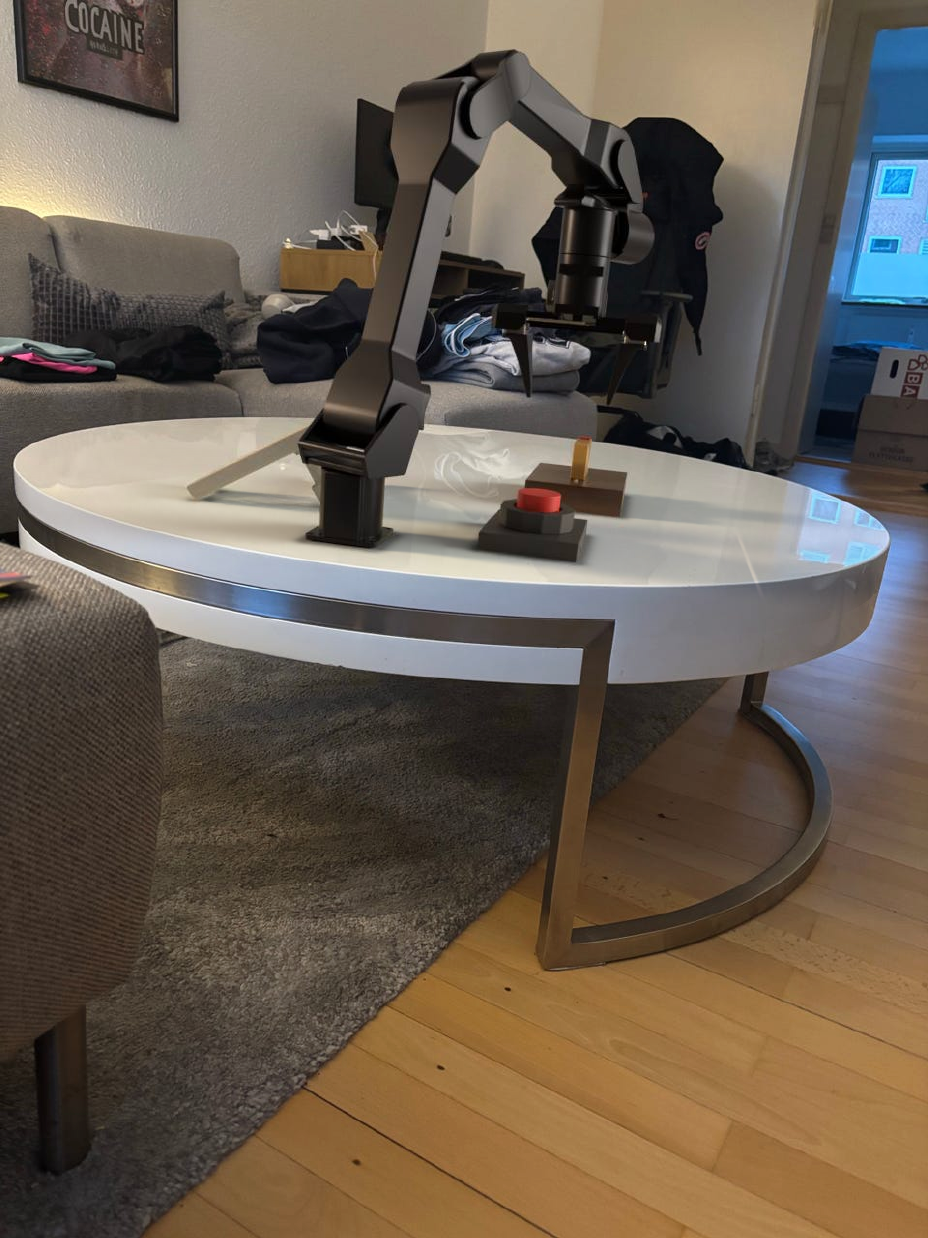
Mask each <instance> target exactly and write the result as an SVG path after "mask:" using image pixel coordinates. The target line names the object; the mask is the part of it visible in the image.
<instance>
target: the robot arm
mask: <svg viewBox="0 0 928 1238" xmlns="http://www.w3.org/2000/svg"><path fill="white" fill-rule="evenodd" d="M507 122H508V123H509V124H510V125H512V126H513V127H515V128H516V129H517V130H518V131H519V132H521V133H522V134H523V135H525V136H526V137H527V138H528V139H530V141H532V142H533V143H534V144H536V145H537V146H538V147H539V148H541V149H542V150H543V151H544V152H546V153H547V154H548V156H549V157H550V160H551V161H550V166H551V167H550V169H551V171H552V172H553V173H554V175H555V176H556V177H557V179H558V180H559V181H560V182H561V184H562V185H564V187H565V188H564V190H563V191H562V192H560V193H559V194H558V195H557V196H556V197H555V198H554V199H553V205H554V206H555V207H557V208H558V207H559V208H563V209H562V219H561V228H560V236H559V247H558V248H559V249H558V256H557V268H556V276H555V280H553V279H549V280H548V284H547V285H548V286H547V289H546V296H545V308H546V311H535V310H534V305H529V304H519V303H518V304H517V303H508V302H506V303H505V302H498V303H496V305H494V306H493V307H492V312H491V322H490V329H494V330H495V329H497V330H503V332H502V333H501V338H503V339H509V341H510V343H511V346H512V348H513V352H514V354H515V357H516V359H517V362H518V366H519V370H520V374H521V379H522V383H523V387H524V392H525V396H526V398H528V399H529V398H531V397H532V393H533V383H534V382H533V379H534V378H533V345H534V344H533V343H534V334H533V333H530V331H531V330H532V328H539V329H552V330H560V331H561V330H562V331H574V332H585V333H598V334H610V335H622V336H621V337H622V339H623V341H621V342H619V346H618V350H617V353H616V359H615V362H614V365H613V370H612V373H611V377H610V381H609V386H608V390H607V396H606V404H605V405H606V406H610V405H611V403H612V401H613V399H614V396H615V394H616V392H617V389H618V387H619V385H620V382H621V380H622V378H623V375H624V374H625V371H626V369H627V368H628V366H629V364H630V362H631V361H632V359H633V358H634V356H635V354H636V352H637V351H647V348H648V344H647V343H648V342H649V343H660V341H661V334H662V327H663V320H662V319H661V318H660V316H659V315H653V314H639V313H626V318H619V317H606V314H607V313H606V312H607V306H608V297H609V295H608V291H607V290H608V283H609V274H610V267H611V262H613V263H618V264H625V265H635V264H638V263H640V262H642V261H644V259H645V258H646V257H647V256H648V255H649V254H650V253H651V250H652V248H653V245H654V241H655V232H654V225H653V224H652V221H651V220H650V219H649V217H648V216H647V215H645V214H644V213H643V208H644V196H643V189H642V185H641V179H640V174H639V168H638V162H637V156H636V152H635V151H636V150H635V146H634V145H633V143H632V138H631V137H630V134H629V133H628V132H627V131H626V129H624V128H623V127H620V126H618V125H616V124H615V123H612V122H610V121H606V120H603V119H598V118H593V117H590V116H587V115H585V114H584V113H583V112H581V110H580V109H578V108H577V107H576V106H575V105H574V104H573V103H572V102H570V100H568V98H567V97H565V96H564V95H563V94H562V93H561V92H560V91H559V90H558V89H556V87H555V86H553V85H552V84H551V83H550V82H549V81H548V80H547V79H546V78H545V77H543V75H541V74H540V73H539V72H538V71H537V70H536V69H535V68H534V67H532V66H531V63H530V60H529V58H528V56H527V55H526V54H525V53H524V52H523V51H519V50H518V49H515V48H512V49H504V50H496V51H487V52H480V53H479V52H478V53H477V54H476V56H474V57H472V58H470V59H468V61H465V63H463V64H462V65H460V66H458V67H455V68H453V69H451V70H448V71H447V72H444V73H442V74H440V75H437V76H435V77H432V78H431V79H428V80H418V81H417V80H416V81H412V82H410V83H408V84H407V85H406V86H403V87H402V88H401V90H400V91H399V93H398V95H397V98H396V101H395V104H394V111H393V121H392V129H391V137H390V150H391V154H392V157H393V160H394V161H393V162H394V164H395V168H396V172H397V175H398V185H397V190H396V195H395V198H394V202H393V205H392V211H391V213H390V214H391V215H390V219H389V222H388V227H387V232H386V235H385V240H384V245H383V247H382V252H381V255H380V261H379V265H378V268H377V269H378V270H377V272H376V276H375V281H374V286H373V290H372V295H371V298H370V302H369V307H368V311H367V315H366V318H365V319H366V320H365V324H364V328H363V332H362V335H361V340H360V342H359V345H358V346H357V347H356V348H355V349H354V351H353V352H352V353H351V354H350V355H349V356H348V357H347V358H346V360H345V361H344V362H343V364H342V365H340V367H339V368H338V369H337V370H336V373H335V374H334V378H333V380H332V383H331V385H330V388H329V391H328V393H327V395H326V399H325V401H324V404H323V407H322V409H321V410H320V411H319V413H318V414H317V415H316V417H315V418H314V419H313V421H311V422H312V423H311V422H310V423H311V425H310V426H309V427H308V429H307V430H306V431H305V433H304V434H303V435H302V437H301V438H300V439H299V441H298V448H299V452H300V454H299V456H300V459H301V463H302V464H304V465H306V464H312V465H316V466H320V467H321V479H320V502H319V511H318V512H319V514H318V525H317V526H315V527H314V528H312V529H310V530H309V531H307V532H305V535H304V538H305V539H306V540H311V541H318V542H325V543H331V544H332V543H333V544H341V545H348V546H349V545H350V546H354V547H355V546H356V547H363V548H376V547H378V546H379V545H381V544H382V543H383V542H385V541H386V540H387V539H389V538H390V537H391V536H393V534H394V528H393V527H388V526H383V523H384V521H383V520H384V505H385V504H384V503H385V486H386V479H387V478H394V477H402V476H405V475H406V473H407V471H408V470H407V469H408V467H409V463H410V460H411V457H412V454H413V450H414V447H415V443H416V441H417V437H418V435H419V433H420V431H424V430H425V417H426V410H427V408H428V405H429V402H430V399H431V397H432V387H431V385H430V384H429V383H428V384H427V383H422V380H421V376H420V373H419V370H418V366H417V362H416V361H417V359H416V358H417V352H418V350H419V349H418V348H419V344H420V340H421V336H422V332H423V328H424V324H425V320H426V316H427V312H428V308H429V303H430V300H431V295H432V291H433V288H434V283H435V280H436V275H437V271H438V268H439V263H440V259H441V256H442V252H443V247H444V243H445V239H446V234H447V231H448V226H449V222H450V218H451V214H452V210H453V205H454V202H455V200H456V197H457V195H458V194H459V193H460V191H461V190H463V188H464V187H465V186H466V185H467V183H468V182H469V181H470V180H471V178H473V176H474V175H475V174H476V173H477V172H478V170H479V169H480V167H481V166H482V163H483V160H484V157H485V155H486V152H487V150H488V147H489V144H490V142H491V139H492V136H493V133H494V132H496V130H498V129H500V127H502V126H503V125H505V124H506V123H507Z"/></svg>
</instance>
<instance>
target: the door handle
mask: <svg viewBox="0 0 928 1238" xmlns="http://www.w3.org/2000/svg"><path fill="white" fill-rule="evenodd" d="M312 422H313V421H311V422H309V423H306V424H305V425H304V426H301V427H299V428H297V429H295V430H293V431H291V432H288V433H287V434H285V435H283V436H281V437H279V438H277V439H275V440H273V441H271V442H269V443H267V444H265V445H263V446H260V447H259V448H257V449H255V450H252V451H251V452H248V453H247V454H245V455H242V456H240V457H239V458H236V459H235V460H232V461H230V462H229V463H226V464H224V465H222V466H220V467H218V468H216V469H214V470H211V471H210V472H208V473H206V474H205V475H203V476H201V477H199V478H198V479H196V480H194V481H193V482H191V483H189V484H187V485H186V490H187V491H188V493H189V494H190V495H191V497H192V498H193V499H194V500H199V499H202V498H204V497H205V496H208V495H210V494H212V493H214V492H216V491H218V490H220V489H223V488H224V487H226V486H228V485H230V484H232V483H234V482H237V481H239V480H241V479H243V478H245V477H247V476H249V475H251V474H253V473H255V472H258V471H259V470H261V469H263V468H265V467H267V466H270V465H271V464H274V463H276V462H277V461H280V460H281V459H284V458H286V457H288V456H289V455H292V454H295V456H298V455H300V452H299V448H298V441H299V439H300V438H301V437H302V435H303V434H304V433H305V431H306V430H307V429H308V427H309V426H310V425H311V423H312ZM305 467H306V468H307V470H308V472H309V474H310V475H311V478H312V479H313V481H314V484H313V485H312V486H311V489H312V491H313V493H314V495H315V496H316V499H317V500H318V502H319V503H320V479H321V467H320V466H316V465H312V464H305Z"/></svg>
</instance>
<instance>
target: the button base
mask: <svg viewBox="0 0 928 1238" xmlns="http://www.w3.org/2000/svg"><path fill="white" fill-rule="evenodd" d="M575 515H576V512H575V509H573V508H571V507H569V506H567V505H564V504H560V506H559V511H558V512H537V511H528V510H524V509H520V508H517V498H514V499H506V500H503V501H502V502H501V503H500V506H499V508H498V510H497V511H496V512H494V514H493V515H492V516H491V517H490V519H488V521H487V522H485V524H484V525H483V527H481V529H480V530H479V531H478V537H477V538H478V539H477V548H476V549H477V550H480V551H487V552H496V553H501V554H511V555H518V556H525V557H532V558H533V557H534V558H541V559H548V560H549V559H550V560H555V561H556V560H557V561H564V562H571V563H572V562H573V563H577V562H578V559H579V556H580V553H581V550H582V548H583V545H584V541H585V539H586V535H587V529H588V528H587V526H588V519H583V518H575Z"/></svg>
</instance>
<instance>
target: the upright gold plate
mask: <svg viewBox="0 0 928 1238" xmlns="http://www.w3.org/2000/svg"><path fill="white" fill-rule="evenodd" d="M592 441H593V440H592V438H591V436H582V435H579V437H578V438H577V440H576V441H575V443H574V444H573V452H572V460H571V466H572V467H571V476H570V478H571V479H580V480H584V478H585V476H586V474H587V472H588V468H589V466H590V457H591V449H592Z"/></svg>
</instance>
